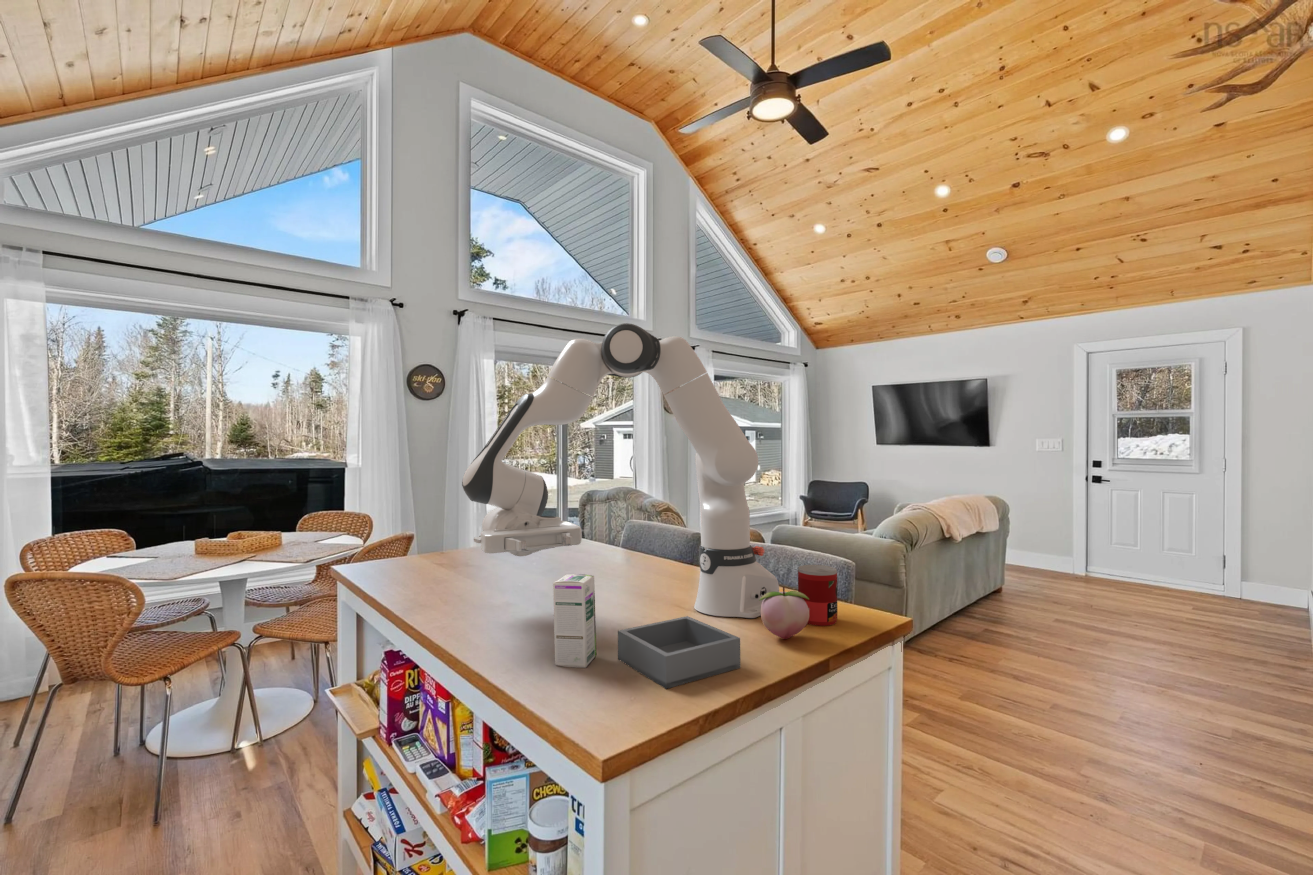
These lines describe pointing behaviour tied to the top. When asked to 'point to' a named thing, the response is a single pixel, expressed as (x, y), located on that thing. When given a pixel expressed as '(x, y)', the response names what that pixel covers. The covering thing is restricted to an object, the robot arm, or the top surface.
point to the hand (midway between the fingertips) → (546, 543)
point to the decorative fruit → (784, 612)
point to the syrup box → (574, 620)
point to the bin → (678, 651)
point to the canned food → (819, 593)
